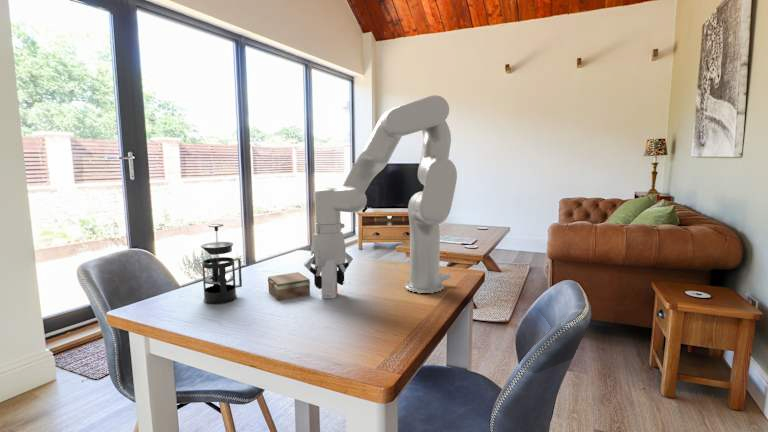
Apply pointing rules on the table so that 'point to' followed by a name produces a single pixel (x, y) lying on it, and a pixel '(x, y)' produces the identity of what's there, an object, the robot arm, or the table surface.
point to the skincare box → (329, 279)
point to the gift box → (289, 286)
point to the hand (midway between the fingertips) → (329, 285)
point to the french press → (220, 272)
